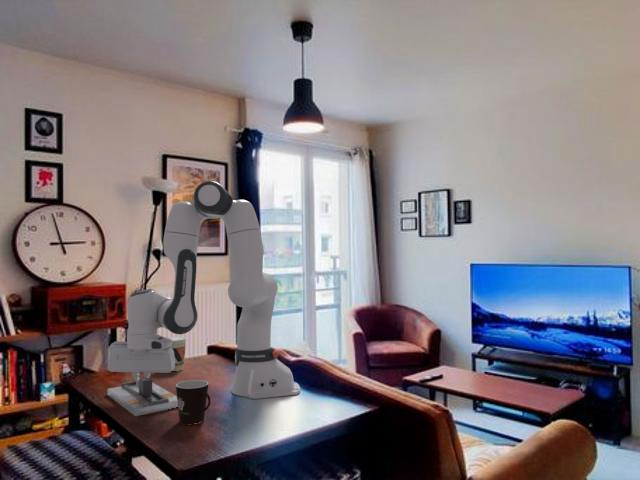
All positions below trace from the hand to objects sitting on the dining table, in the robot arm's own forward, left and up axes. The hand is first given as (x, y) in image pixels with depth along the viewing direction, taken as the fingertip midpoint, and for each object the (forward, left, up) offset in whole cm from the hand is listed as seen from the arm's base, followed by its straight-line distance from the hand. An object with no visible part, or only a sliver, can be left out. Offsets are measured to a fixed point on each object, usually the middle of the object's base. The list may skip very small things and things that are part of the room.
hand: (141, 386), depth 153 cm
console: (-1, +2, -4) cm, 5 cm away
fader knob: (-2, +3, -2) cm, 4 cm away
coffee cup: (-5, -37, -4) cm, 38 cm away
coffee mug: (-18, +25, -4) cm, 31 cm away
